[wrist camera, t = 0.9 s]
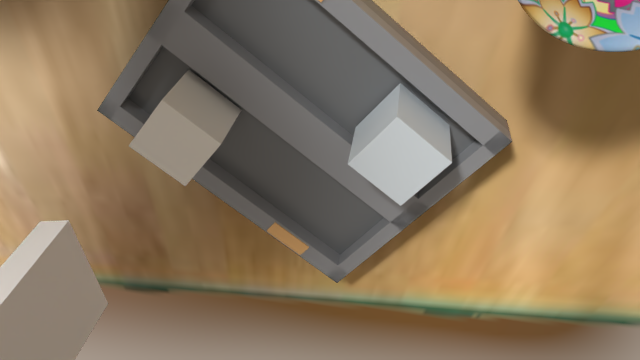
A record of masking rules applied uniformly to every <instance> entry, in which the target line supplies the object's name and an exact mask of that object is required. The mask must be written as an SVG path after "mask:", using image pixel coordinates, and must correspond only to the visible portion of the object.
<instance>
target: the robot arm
mask: <svg viewBox="0 0 640 360" xmlns="http://www.w3.org/2000/svg"><path fill="white" fill-rule="evenodd" d="M107 305H108V302H107V300H106V298H105V296H104V294H103V292H102V289H101V287H100V285H99V283H98V281H97V279H96V277H95V275H94V273H93V270H92V268H91V266H90V264H89V262H88V260H87V258H86V256H85V253H84V251H83V249H82V247H81V245H80V243H79V241H78V239H77V237H76V234H75V232H74V230H73V228H72V226H71V224H70V222H69V220H63V221H40V222H39V223H38V224H37V226H36V227H35V228H34V229H33V230H32V231H31V233H30V234H29V235H28V236H27V237H26V238H25V239H24V241H23V242H22V243H21V244H20V245H19V246H18V247H17V249H16V250H15V251H14V252H13V253H12V254H11V256H10V257H9V258H8V259H7V260H6V261H5V262H4V264H3V265H2V266H1V267H0V360H75V358H76V356H77V355H78V353H79V352H80V350H81V348H82V347H83V345H84V343H85V342H86V340H87V338H88V337H89V335H90V333H91V332H92V330H93V328H94V327H95V325H96V323H97V321H98V320H99V318H100V317H101V315H102V313H103V312H104V310H105V308H106V307H107Z"/></svg>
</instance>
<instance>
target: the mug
mask: <svg viewBox="0 0 640 360" xmlns="http://www.w3.org/2000/svg"><path fill="white" fill-rule="evenodd" d="M518 1H519V3H520V5H521V6H522V8H523V9H524V10H525V12H526V13H527V14H528V16H529V17H530V18H531V19H532V20H533V21H534V22H535V23H536V24H537V25H538V26H540V27H541V28H542V29H543V30H545V31H546V32H547V33H549V34H551V35H552V36H554V37H555V38H557V39H559V40H561V41H563V42H565V43H568V44H571V45H574V46H576V47H580V48H584V49H589V50H595V51H604V52H625V51H634V50H640V0H518Z"/></svg>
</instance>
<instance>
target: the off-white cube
mask: <svg viewBox="0 0 640 360" xmlns="http://www.w3.org/2000/svg"><path fill="white" fill-rule="evenodd" d="M240 112H241V109H240V108H238V107H237V106H236V105H234V104H233V103H232V102H231V101H229V100H228V99H227V98H225V97H224V96H223V95H222V94H220V93H219V92H218V91H216V90H215V89H214V88H212V87H211V86H210V85H209V84H207V83H206V82H205V81H203V80H202V79H201V78H200V77H198V76H197V75H196V74H194V73H193V72H192V71H191V70H188V71H187V72H186V73H185V74H184V75H183V77H182V78H181V79H180V80H179V81H178V82H177V83H176V84H175V86H174V87H173V88H172V89H171V90H170V91H169V92H168V93H167V95H166V96H165V97H164V98H163V99H162V100H161V102H160V103H159V104H158V106H157V107H156V109H155V110H154V111H153V113H152V114H151V115H150V117H149V118H148V120H147V121H146V122H145V124H144V125H143V127H142V128H141V129H140V131H139V132H138V133H137V135H136V136H135V138H134V139H133V140H132V142H131V143H130V145H129V147H131V148H132V149H133V150H135V151H136V152H138V153H139V154H140V155H142V156H143V157H145V158H146V159H147V160H149V161H150V162H152V163H153V164H154V165H156V166H157V167H159V168H160V169H161V170H163V171H164V172H166V173H167V174H168V175H170V176H171V177H173V178H174V179H175V180H177V181H178V182H180V183H181V184H182V185H184V186H186V185H187V184H188V183H189V181H190V180H191V179H192V178H193V177H194V176H195V174H196V173H197V172H198V171H199V170H200V168H201V167H202V166H203V165H204V164H205V163H206V161H207V160H208V159H209V158H210V157H211V155H212V154H213V153H214V152H215V151H216V150H217V148H218V147H219V146H220V145H221V144H222V142H223V140H224V138H225V137H226V135H227V133H228V132H229V130H230V128H231V127H232V125H233V123H234V122H235V120H236V118H237V117H238V115H239V113H240Z"/></svg>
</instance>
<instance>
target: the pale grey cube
mask: <svg viewBox="0 0 640 360" xmlns="http://www.w3.org/2000/svg"><path fill="white" fill-rule="evenodd" d="M451 163H452V153H451V140H450V126H449V124H448V123H446V122H445V121H444V120H443V119H442V118H441V117H439V116H438V115H437V114H436V113H435V112H434V111H432V110H431V109H430V108H429V107H428V106H427V105H425V104H424V103H423V102H422V101H421V100H420V99H418V98H417V97H416V96H415V95H414V94H413V93H411V92H410V91H409V90H408V89H407V88H406V87H404V86H403V85H402V84H401V83H400V84H399V85H398V86H397V87H396V88H395V89H394V90H393V91H392V92H391V93H390V94H389V95H388V96H387V97H386V98H385V99H384V100H383V101H382V102H381V103H380V104H379V105H378V106H377V107H376V108H375V109H374V110H373V111H372V112H371V113H369V114H368V115H367V116H366V117H365V118H364V119H363V120H362V121H361V122H360V123H359V124H358V125H357V126H356V127H355V132H354V137H353V141H352V146H351V151H350V155H349V160H348V165H349V166H351V167H352V168H353V169H354V170H356V171H357V172H358V173H360V174H361V175H362V176H363V177H365V178H366V179H367V180H368V181H370V182H371V183H372V184H373V185H375V186H376V187H377V188H379V189H380V190H381V191H382V192H384V193H385V194H386V195H387V196H389V197H390V198H391V199H393V200H394V201H395V202H396V203H398V204H399V205H400V206H401V205H402V204H404V203H405V202H406V201H407V200H408V199H410V198H411V197H412V196H413V195H414V194H416V193H417V192H418V191H419V190H420V189H422V188H423V187H424V186H425V185H426V184H427V183H429V182H430V181H431V180H432V179H433V178H435V177H436V176H437V175H438V174H439V173H441V172H442V171H443V170H444V169H445V168H447V167H448V166H449V165H450V164H451Z"/></svg>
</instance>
